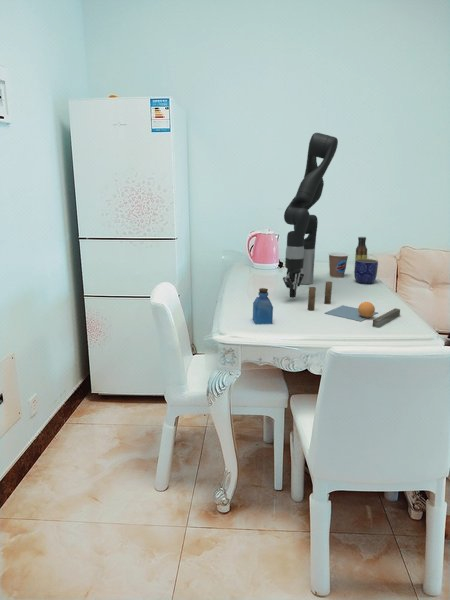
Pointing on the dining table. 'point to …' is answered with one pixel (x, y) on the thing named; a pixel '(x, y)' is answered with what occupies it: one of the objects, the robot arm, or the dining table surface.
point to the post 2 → (328, 293)
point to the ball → (366, 309)
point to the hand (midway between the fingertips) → (292, 297)
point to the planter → (365, 270)
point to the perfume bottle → (262, 308)
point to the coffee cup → (337, 264)
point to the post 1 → (311, 298)
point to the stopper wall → (386, 317)
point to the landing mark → (347, 313)
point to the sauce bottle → (361, 249)
